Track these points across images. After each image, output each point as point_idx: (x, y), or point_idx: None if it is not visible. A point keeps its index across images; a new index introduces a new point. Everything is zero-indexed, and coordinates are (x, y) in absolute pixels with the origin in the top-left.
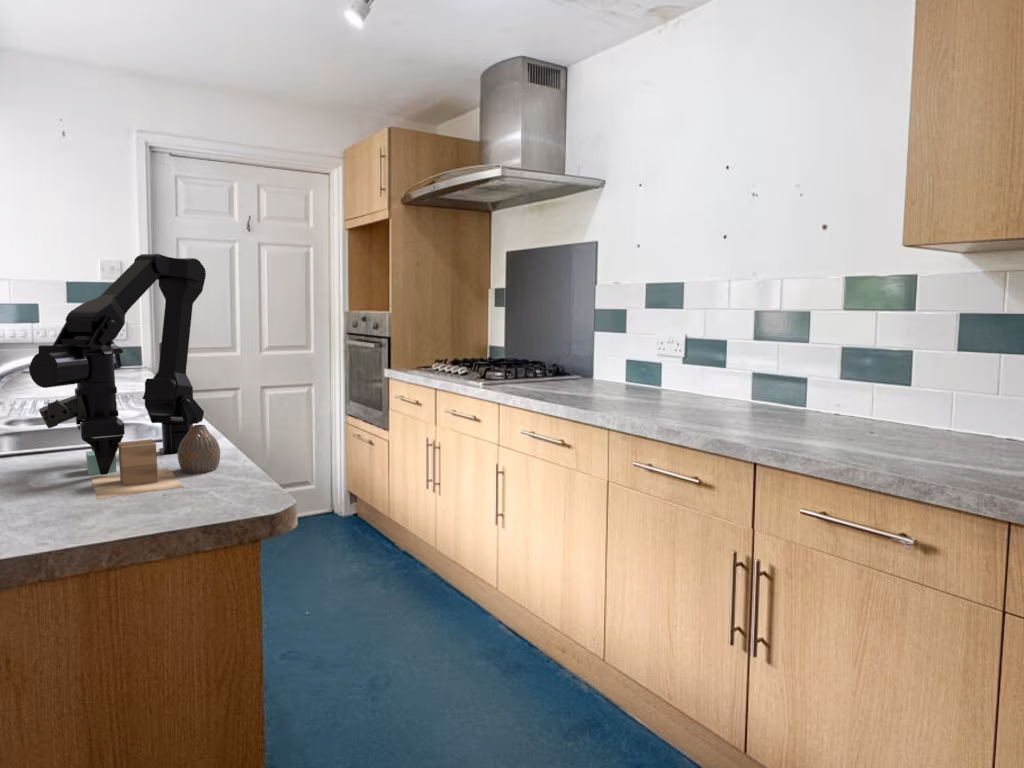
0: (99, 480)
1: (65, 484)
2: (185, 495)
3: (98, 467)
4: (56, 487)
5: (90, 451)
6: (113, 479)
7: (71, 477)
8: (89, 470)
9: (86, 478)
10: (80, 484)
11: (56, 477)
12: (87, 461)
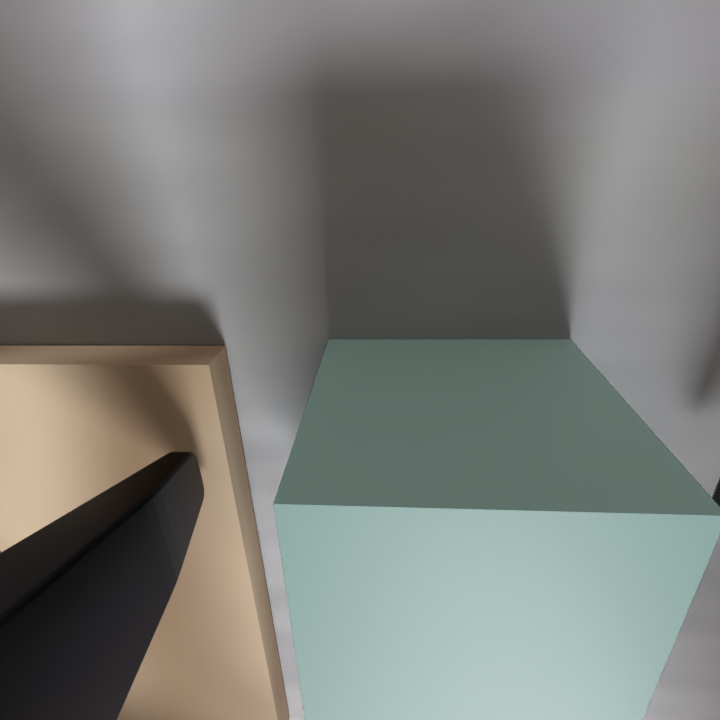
0: (17, 417)
1: (193, 120)
2: None
3: (134, 487)
4: (74, 18)
5: (672, 567)
6: (29, 500)
7: (528, 188)
8: (314, 387)
9: (380, 320)
10: (137, 261)
11: (666, 4)
12: (429, 431)
